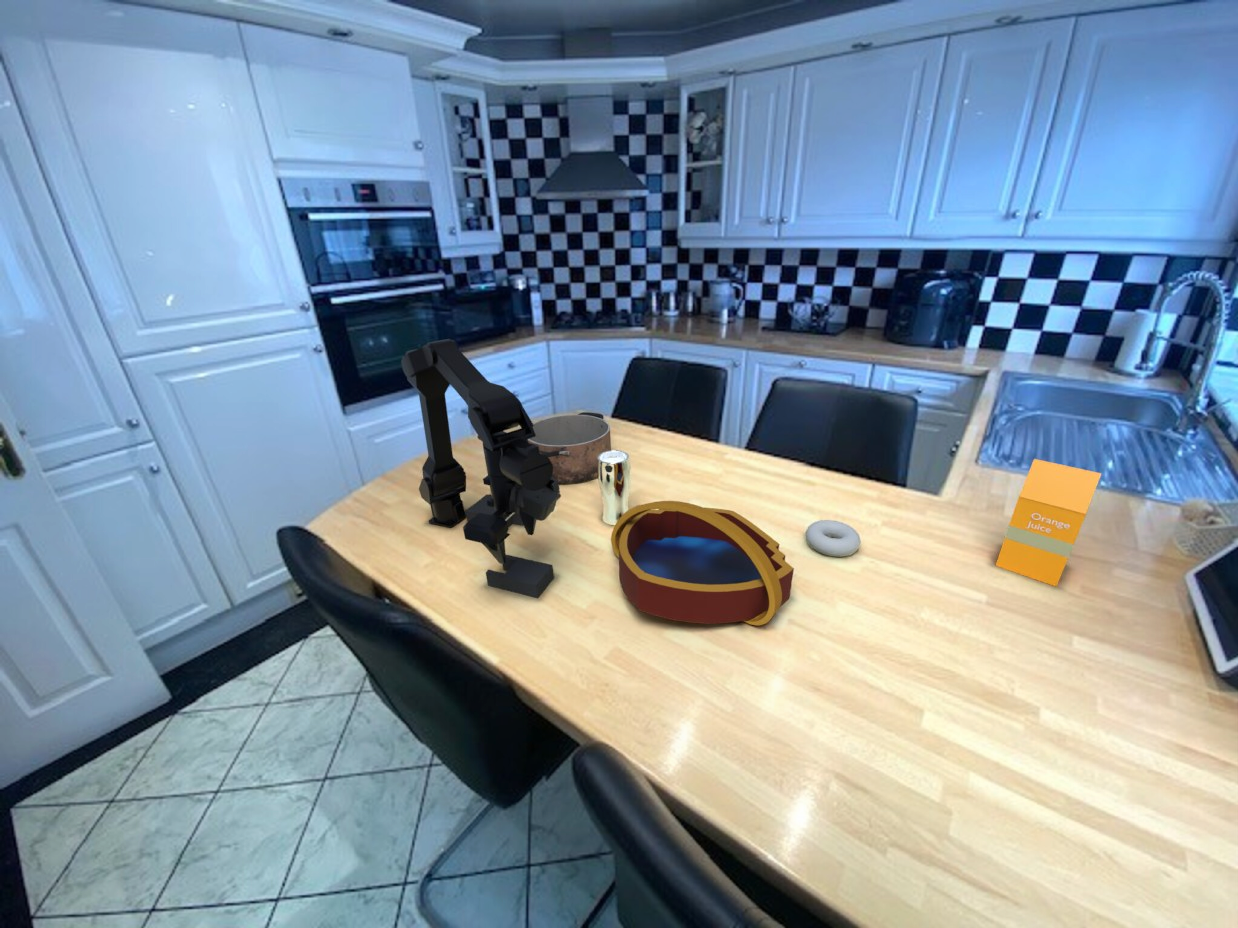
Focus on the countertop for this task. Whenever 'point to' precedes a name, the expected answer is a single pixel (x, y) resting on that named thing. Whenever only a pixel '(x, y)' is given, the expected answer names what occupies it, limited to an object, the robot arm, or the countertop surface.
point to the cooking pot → (573, 445)
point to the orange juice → (1047, 520)
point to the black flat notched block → (522, 576)
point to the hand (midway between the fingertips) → (517, 548)
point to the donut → (841, 546)
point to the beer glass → (614, 484)
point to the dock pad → (489, 511)
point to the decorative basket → (699, 564)
